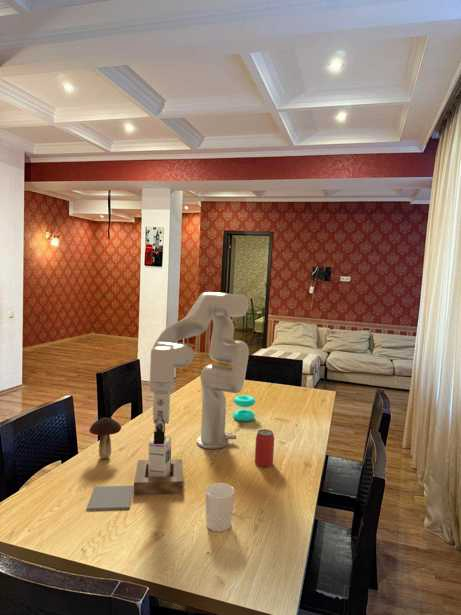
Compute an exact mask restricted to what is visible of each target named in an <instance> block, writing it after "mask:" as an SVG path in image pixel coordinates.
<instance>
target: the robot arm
mask: <svg viewBox="0 0 461 615" xmlns="http://www.w3.org/2000/svg"><path fill="white" fill-rule="evenodd" d="M248 311H249V301H248V298H247V297H246V296H245V295H243V294H233V293H228V292H227V293H226V292H217V291H216V292H213V291H207V292H206V291H205V292H202V293H201V294H200V295H198V297H197V299H196V301H195V302H194V303H193V305H192V307H191V308H190V309H189V311H188V313H187V314H186V315H185V317H184V318H182V319H180V320H178V321H176V322H175V323H173V324H171V325H170V326H169V325H168V327H166V328H165V329H164V330H163V331H162V332H161V333H160V335H159V336H158V338H157V339H156V340H155V342H154V343H153V344H154V345H153V346H152V348H151V349H150V363H149V364H150V367H149V388H148V389H149V392H151V393H152V394H153V395H152V422H153V424H154V431H153V438H154V444H164V436H166V435H165V433H166V425H168V424H169V423H170V409H171V404H170V403H171V392H174V384H175V382H174V380H175V377H174V376H175V369H177V368H187V367H188V366H190V365H191V364H192V363H193V362H194V358H195V352H194V350H193V347H192V346H190V345H188V344H183V343H178V342H179V341H181V340H184V339H187V338H193V337H195V336H198V335H202V334H203V333H204V332H206V330H207V328H208V327H209V326H210V323H211V322H212V325H213V327H212V332H211V338H210V339H211V340H210V344H209V350H208V356H209V358H210V360H212V361H215V362H217V363H223V364H229V365H231V367H230V366H225V365H219V364H208V365H205V366H204V367H203V368H202V369H201V371H200V385H201V394H202V395H201V396H202V397H201V398H202V401H201V427H200V435H199V436H198V437H197V439H196V444H197V445H198V446H199V447H201V448H204V449H207V450H209V449H210V450H217V449H218V450H220V449H223V448H226V447H227V446H228V445H229V440H237V434H236V433H233V432H227V431H226V414H227V413H226V412H227V399H226V395H225V393H224V392H226V393H230V394H231V393H232V394H238V393H240V392H241V391H242V389H243V387H244V385H245V379H246V373H247V367H248V361H249V354H250V351H249V346H248V344H247V343H246V342H245V341H243V340H237V339H234V335H235V334H234V333H235V325H234V322H233V320H232V318H240V317H241V318H242V317H244V316H245V315H246V314H247V312H248Z"/></svg>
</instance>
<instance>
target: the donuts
mask: <svg viewBox="0 0 461 615" xmlns="http://www.w3.org/2000/svg"><path fill="white" fill-rule="evenodd" d="M233 403H234V404H235V405H236V406H237V407H240V408H239V409H236V410H235V411H234V412H232V413H233V414H232V415H233V419H235V420H236V421H238V422H251V421H253V420H254V418H255V413H254V412H253V411H252V410H250V409H248V408H250V407H252V406H254V405H255V403H256V399H255V397H253V396H251V395H246V394H244V395H243V394H241V395H237V396H235V397H234V398H233ZM246 408H247V409H246Z"/></svg>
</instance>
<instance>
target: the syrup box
mask: <svg viewBox="0 0 461 615" xmlns="http://www.w3.org/2000/svg"><path fill="white" fill-rule="evenodd" d="M147 460H148V475H147V477H172V475H171V460H172V437H171V436H166V435H164V444H154V437H153V438H151V440H150V441H149V442H148V459H147Z"/></svg>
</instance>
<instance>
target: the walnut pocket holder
mask: <svg viewBox="0 0 461 615" xmlns="http://www.w3.org/2000/svg"><path fill="white" fill-rule="evenodd" d="M183 465H184V464H183V459H182V458H181V459H179V458H178V459H176V458H175V459H171V477H148V459H138V460H137V463H136V469H135V475H134V481H133V496H145V495H146V496H147V495H176V494H177V495H179V494H181V495H182V494H183V493H184V466H183Z"/></svg>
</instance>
